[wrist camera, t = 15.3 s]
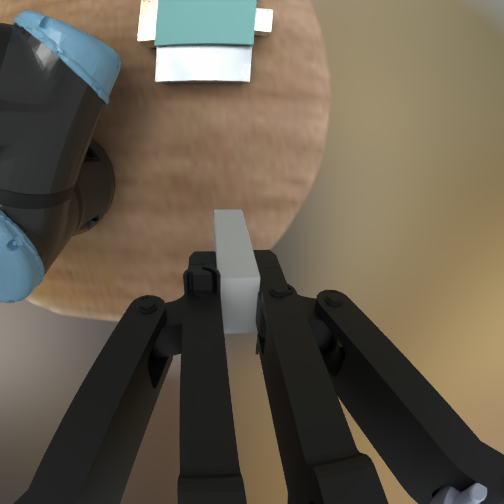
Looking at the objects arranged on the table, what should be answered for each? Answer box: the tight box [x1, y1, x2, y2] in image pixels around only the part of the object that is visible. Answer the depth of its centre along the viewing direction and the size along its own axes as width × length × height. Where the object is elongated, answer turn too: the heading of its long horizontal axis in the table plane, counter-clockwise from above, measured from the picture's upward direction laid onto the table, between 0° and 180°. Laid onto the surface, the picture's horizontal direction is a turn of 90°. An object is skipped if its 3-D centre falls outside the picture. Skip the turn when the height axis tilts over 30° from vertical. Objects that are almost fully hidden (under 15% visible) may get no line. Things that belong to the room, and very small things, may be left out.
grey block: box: [155, 45, 252, 84], centre depth 28 cm, size 10×16×8 cm, turn 176°
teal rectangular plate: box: [154, 0, 257, 47], centre depth 24 cm, size 10×8×1 cm
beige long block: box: [138, 0, 273, 48], centre depth 28 cm, size 15×6×6 cm, turn 86°
